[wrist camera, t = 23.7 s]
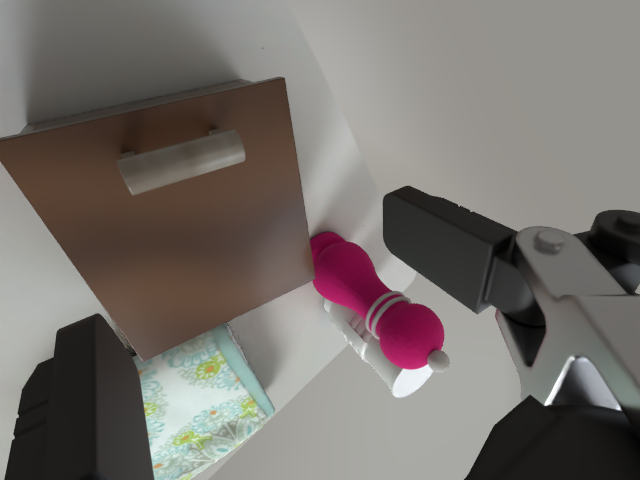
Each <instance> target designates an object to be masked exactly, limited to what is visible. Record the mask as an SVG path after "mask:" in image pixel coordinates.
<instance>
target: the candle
mask: <svg viewBox="0 0 640 480" xmlns="http://www.w3.org/2000/svg"><path fill="white" fill-rule="evenodd" d="M324 309H325V310H326V312H328V313H329V318H330V321H331V322H332V323H333V324H334V325H335V326H336V327H337V328H338V329H339V330H340V331H341V332H342V333H343V336H344V338H345V340H346V341H347V342H349V344H350V345H351V346H352V348H354V350H355V351H356V353H357V354H359V355H360V357H361V358H362V360H364V361H365V362H368V363H369V364H370V365H371V366H372V367H373V368H374V370H375V371H376V372H377V373H378V374H379V375H380V376H381V378H382V379H383V380H384V381H385V382H386V384H387V385H388V386H389V387H390V391H391V393H392V394H393V395H394V396H395V397H397V398H402V397H405V396H407V395H409V394H411V393H412V392H414V391H415V390H417V389H418V388H419V387H420V386H421V385H422V384H423V383H424V382H425V381H426V380H427V379H428V378H429V376H430V375H431V374H432V372H433V370H432V369H431V368H430V367H429V365H428V364H427V365H426V366H424V367H422V368H419V369H414V370H408V369H402V368H400V367H398V366H396V365H394V364H393V363H392V362H390V361H389V360H388V359H387V358H386V356H385V355H384V353H383V352H382V350H381V347H380V343H379V339H376V338H375V337H374V336H373V335H372V333H371V332H369V331H368V330H367V328H366V325H365V320H364V319H363V317H362V316H360V315H359V314H358V313H357V312H356V311H354V310H352V309H350V308H348V307H345V306H342V305H339V304H336V303H333V302H331V301H329V300H328V299H326V298H325V300H324Z"/></svg>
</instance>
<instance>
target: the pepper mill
mask: <svg viewBox="0 0 640 480" xmlns="http://www.w3.org/2000/svg"><path fill="white" fill-rule="evenodd" d="M310 245H311V251H312V258H313V264H314V270H315V277H316V279H314V280H313V284H314V286H315V288H316V290H317V291H318V292H319V293H320V294H321V295H322V296H323V297H324V298H326V299H328V300H329V301H331V302H333V303H336V304H339V305H342V306H345V307H348V308H350V309H352V310H354V311H356V312H357V313H358V314H359V315H360V316H362V317H363V319H364V320H365V325H366V328H367V330H368V331H369V332H371V333H372V335H373V336H374V337H375V338H376V339H379V343H380V347H381V350H382V352H383V353H384V355H385V356H386V358H387V359H388V360H389V361H390V362H392V363H393V364H394V365H396V366H398V367H400V368H402V369H408V370H414V369H419V368H422V367H424V366H426V365H427V364H428V365H429V367H430V368H431V369H432V370H433V371H436V372H444V371H445V370H447V369H448V367H449V364H450V362H449V358H448V356H447V354H445V353H444V352H443V351H440V350H441V348H442V346H443V342H444V329H443V325H442V323H441V321H440V319H439V318H438V317H437V315H436V314H435V313H434V312H433V311H432V310H431V309H429V308H427V307H426V306H424V305H420V304H414V303H413V304H412V303H411V301H410V299H409V298H407V297H405V296H404V295H403V294H402V293H401V292H399V291H392V290H390V289H389V288H388V287H387V286H385V285H384V284H383V283H382V282H381V280H380V279H379V277H378V276H377V274H376V272H375V269H374V266H373V263H372V261H371V259H370V258H369V256H368V255H367V253H366V252H365V251H364V250H363V249H362V248H361V247H360V246H358V245H357V244H354V243H351V242H346V241H345V240H344V239H343V238H342V237H340V236H339V235H338V234H336V233H333V232H325V233H321V234H319V235H317V236H315V237H314V238H313V239H311V240H310Z"/></svg>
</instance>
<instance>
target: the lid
mask: <svg viewBox="0 0 640 480" xmlns="http://www.w3.org/2000/svg"><path fill="white" fill-rule="evenodd" d="M0 161H1V163H2V164H3V166H4V167H5V168H6V170H7V171H8V173H9V174H10V176H11V177H12V178H13V180H14V181H15V183H16V184H17V185H18V187H19V188H20V190H21V191H22V192H23V194H24V195H25V197H26V198H27V200H28V201H29V202H30V204H31V205H32V207H33V208H34V209H35V211H36V212H37V214H38V215H39V216H40V218H41V219H42V221H43V222H44V224H45V225H46V226H47V228H48V229H49V231H50V232H51V233H52V235H53V236H54V238H55V239H56V240H57V242H58V243H59V245H60V246H61V248H62V249H63V250H64V252H65V253H66V255H67V256H68V257H69V259H70V260H71V262H72V263H73V265H74V266H75V267H76V269H77V270H78V272H79V273H80V274H81V276H82V277H83V279H84V280H85V281H86V283H87V284H88V286H89V287H90V289H91V290H92V291H93V293H94V294H95V296H96V297H97V298H98V300H99V301H100V303H101V304H102V305H103V307H104V308H105V310H106V311H107V313H108V314H109V315H110V317H111V318H112V320H113V321H114V322H115V324H116V325H117V327H118V328H119V329H120V331H121V332H122V334H123V335H124V337H125V338H126V339H127V341H128V342H129V344H130V345H131V346H132V348H133V349H134V351H135V352H136V353H137V355H138V356H139V358H140V359H141V361H142V362H145V361H147V360H149V359H151V358H153V357H155V356H158V355H160V354H162V353H164V352H166V351H168V350H170V349H172V348H174V347H176V346H178V345H180V344H182V343H184V342H186V341H188V340H190V339H193V338H195V337H197V336H199V335H201V334H203V333H205V332H207V331H209V330H211V329H213V328H215V327H217V326H219V325H221V324H223V323H225V322H228V321H230V320H232V319H234V318H236V317H238V316H240V315H242V314H244V313H246V312H248V311H250V310H252V309H254V308H256V307H258V306H260V305H263V304H265V303H267V302H269V301H271V300H273V299H275V298H277V297H279V296H281V295H283V294H285V293H287V292H289V291H291V290H293V289H295V288H298V287H300V286H302V285H304V284H306V283H308V282H310V281H312V280H314V279H316V277H315V270H314V264H313V258H312V251H311V245H310V238H309V232H308V225H307V219H306V212H305V206H304V199H303V193H302V187H301V180H300V174H299V167H298V161H297V154H296V148H295V141H294V135H293V129H292V122H291V116H290V109H289V103H288V96H287V90H286V83H285V78H283V77H276V78H272V79H267V80H262V81H258V82H253V83H249V84H244V85H240V86H235V87H231V88H226V89H221V90H217V91H212V92H208V93H203V94H199V95H194V96H190V97H185V98H180V99H176V100H171V101H167V102H162V103H158V104H153V105H149V106H144V107H139V108H135V109H130V110H126V111H121V112H117V113H112V114H108V115H103V116H98V117H94V118H89V119H85V120H80V121H76V122H71V123H67V124H62V125H57V126H53V127H48V128H44V129H39V130H35V131H30V132H26V133H21V134H16V135H12V136H7V137H3V138H0Z"/></svg>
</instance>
